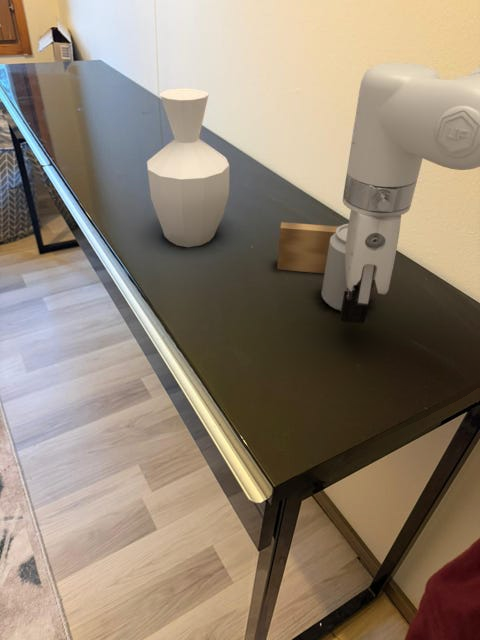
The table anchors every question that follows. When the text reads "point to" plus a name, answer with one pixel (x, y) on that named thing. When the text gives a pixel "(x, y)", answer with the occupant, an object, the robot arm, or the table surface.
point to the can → (335, 269)
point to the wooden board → (304, 247)
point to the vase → (188, 174)
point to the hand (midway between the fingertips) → (352, 318)
